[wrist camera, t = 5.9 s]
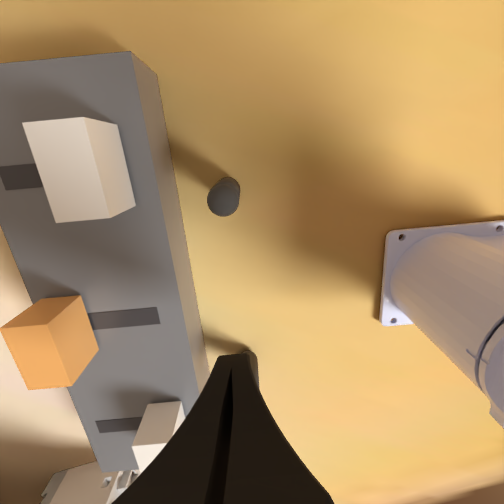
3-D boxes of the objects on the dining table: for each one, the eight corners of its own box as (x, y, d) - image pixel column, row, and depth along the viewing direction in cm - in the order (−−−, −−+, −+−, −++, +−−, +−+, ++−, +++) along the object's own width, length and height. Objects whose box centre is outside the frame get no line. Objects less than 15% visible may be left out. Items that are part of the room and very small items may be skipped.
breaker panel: (156, 74, 16) (129, 50, 13) (217, 417, 26) (213, 463, 22) (7, 88, 16) (-65, 69, 13) (122, 426, 26) (101, 473, 22)
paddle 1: (117, 124, 13) (83, 116, 11) (136, 205, 15) (110, 218, 12) (68, 129, 13) (21, 122, 11) (91, 209, 15) (55, 222, 12)
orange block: (80, 295, 16) (46, 324, 14) (99, 349, 18) (71, 386, 15) (41, 298, 17) (-1, 328, 14) (62, 352, 18) (28, 390, 15)
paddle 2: (181, 400, 20) (170, 442, 17) (190, 440, 21) (182, 485, 18) (147, 404, 20) (131, 446, 17) (159, 443, 21) (146, 488, 18)
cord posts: (239, 175, 18) (237, 184, 13) (257, 360, 24) (261, 425, 18) (215, 177, 18) (202, 187, 13) (239, 362, 24) (237, 427, 18)
